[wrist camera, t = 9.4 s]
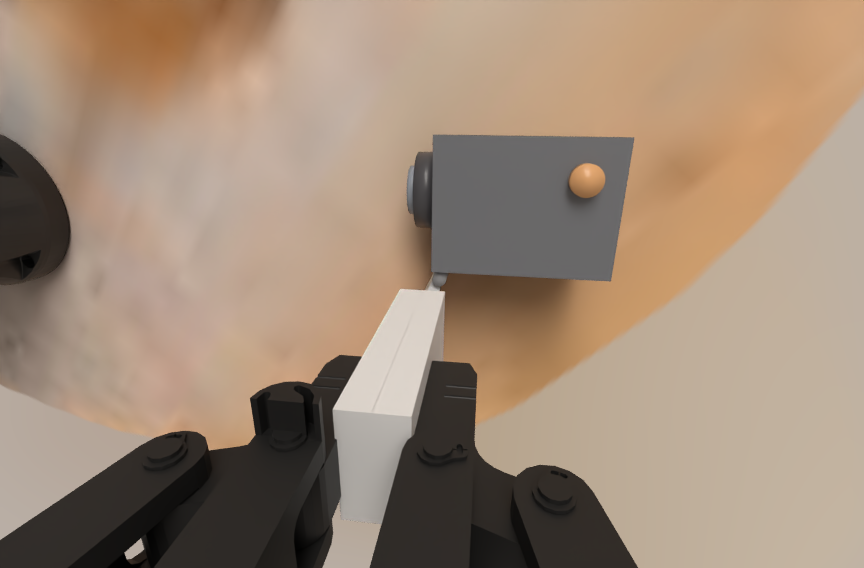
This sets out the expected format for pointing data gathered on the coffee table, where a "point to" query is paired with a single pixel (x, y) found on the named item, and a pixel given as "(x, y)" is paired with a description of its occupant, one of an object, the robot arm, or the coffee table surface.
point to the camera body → (522, 204)
